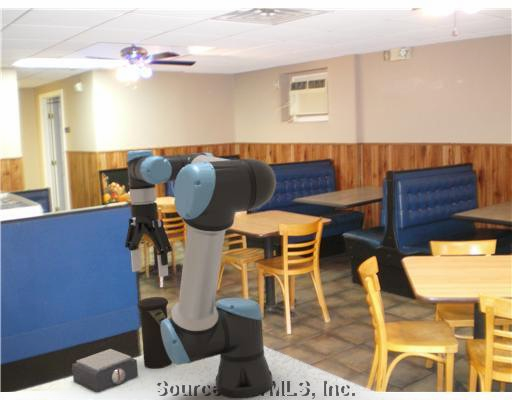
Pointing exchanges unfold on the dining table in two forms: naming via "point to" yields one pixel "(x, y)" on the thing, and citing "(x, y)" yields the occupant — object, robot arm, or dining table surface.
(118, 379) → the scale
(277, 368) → the dining table surface
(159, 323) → the container
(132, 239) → the robot arm
